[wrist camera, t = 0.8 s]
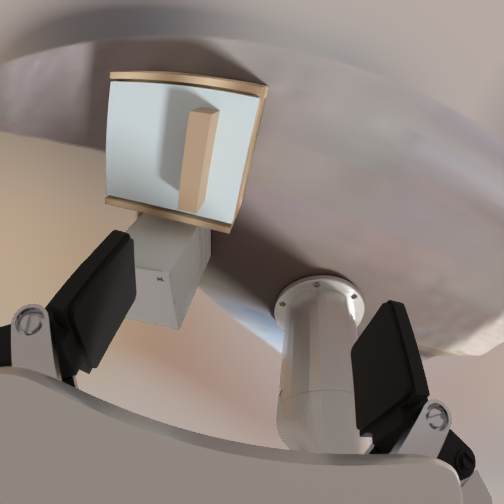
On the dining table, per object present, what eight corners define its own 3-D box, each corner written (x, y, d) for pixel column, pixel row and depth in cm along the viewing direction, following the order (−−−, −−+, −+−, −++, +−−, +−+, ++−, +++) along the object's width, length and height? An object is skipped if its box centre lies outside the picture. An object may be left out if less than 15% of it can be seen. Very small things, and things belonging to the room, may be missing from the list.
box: (268, 86, 24) (261, 87, 18) (242, 201, 32) (229, 233, 26) (147, 70, 24) (110, 72, 18) (137, 178, 32) (105, 203, 26)
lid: (259, 97, 20) (254, 99, 17) (233, 219, 26) (225, 238, 23) (115, 80, 20) (93, 83, 17) (110, 191, 26) (92, 205, 23)
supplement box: (153, 199, 33) (97, 258, 23) (212, 205, 33) (172, 272, 22) (158, 249, 37) (114, 316, 27) (211, 257, 37) (180, 332, 26)
